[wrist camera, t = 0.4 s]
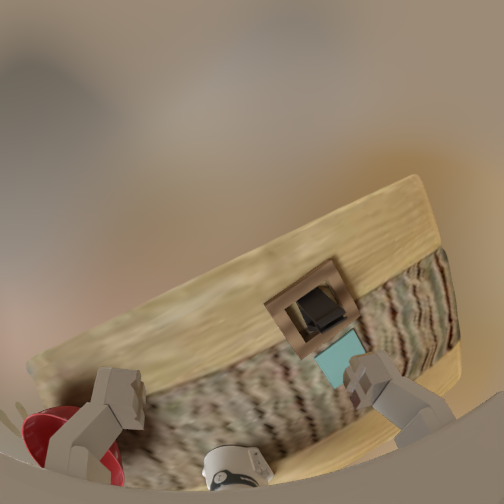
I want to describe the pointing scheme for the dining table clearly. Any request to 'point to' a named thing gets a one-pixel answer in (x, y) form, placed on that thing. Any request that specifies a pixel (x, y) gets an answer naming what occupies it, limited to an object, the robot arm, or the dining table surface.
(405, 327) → the dining table surface
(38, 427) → the mixing bowl
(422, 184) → the dining table surface
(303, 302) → the dark gray a-frame stand
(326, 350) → the teal mat
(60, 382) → the dining table surface
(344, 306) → the walnut holder
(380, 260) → the dining table surface
